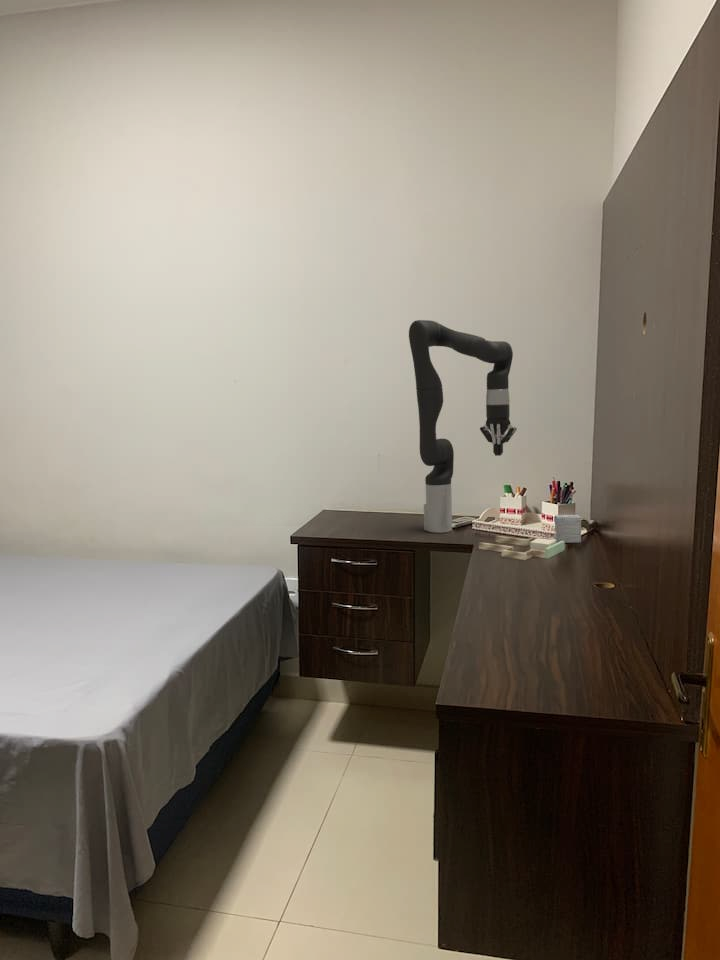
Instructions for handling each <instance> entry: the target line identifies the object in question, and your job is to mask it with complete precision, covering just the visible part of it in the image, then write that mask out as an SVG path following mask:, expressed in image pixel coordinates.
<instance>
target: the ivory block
mask: <svg viewBox="0 0 720 960" xmlns="http://www.w3.org/2000/svg"><path fill="white" fill-rule="evenodd" d="M556 543H557V542H556V540H549V539H540V538H537V539H535V540H533V541H531V542H530V547H529V550H531V549H534V550H541V551H545V548H547V547H549V546H552V545H554V544H556Z"/></svg>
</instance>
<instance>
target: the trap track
mask: <svg viewBox="0 0 720 960" xmlns="http://www.w3.org/2000/svg"><path fill="white" fill-rule="evenodd" d="M537 538H540V539H549V540H556V539H555V538H548V537H542V536H536V535H535V536H530V537H529V538H517V537H511V536H504V535H503V536H502V535H495V543H496V544H495V543H488V542H478V549H479V550H484V551H491V552H496V553H497V552H499V553H501V557H502V558H506V559H507V558H508V559H515V560H520V561H526V560H528V559H531V558H533V557H535V558H540V559H546V560H548V559H550V558H552V557H555V556H556V555H558V554H560V553H562V552H564V551H565V547H566V546H565V544H566V543H565V541H560V542H558V543H557V542H556V544H554V545H552V546H549V547H547V548H545V551H541V550H534V549H531V550H530V549H529V550H527V551H525V552H521V551H515V548H514V547H515V546H510V545H516V546H523V547H529V548H530V542H531V541H533V540H535V539H537ZM497 543H501V544H497ZM503 544H504V545H503ZM505 544H507V545H505ZM508 544H509V545H508Z"/></svg>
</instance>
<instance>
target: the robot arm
mask: <svg viewBox="0 0 720 960" xmlns="http://www.w3.org/2000/svg"><path fill="white" fill-rule="evenodd" d="M408 341H409V346H410V350H411V351H410V352H411V355H412V361H413V368H414V369H413V370H414V378H415V386H416V387H415V389H416V397H417V398H416V400H417V409H418V420H419V421H418V422H419V455H420V458H421V461H422V463H423V464H424V465H425V466H427V467H428V466H429V467H433V468H432V470H431V471H430V472H429V473H428V474H427V475H426V476H425V478H424V481H425V483H424V484H425V504H423V524H424V525H423V527H424V528H423V530H424V531H427V532H429V533H440V534H441V533H449V532H452V530H453V516H452V515H453V509H452V507H453V506H452V504H453V503H452V478H453V474H454V460H455V459H454V457H455V456H454V453H455V452H454V446H453V444H452V443H451V441H450V440H449V439H447V438H437V422H438V419H439V417H440V413H441V410H442V408H443V404H444V391H443V384H442V380H441V378H440V376H439V374H438V371H437V370H436V369H435V367H434V365H433V362H432V360H431V355H430V347H445V348H449V349H452V350H453V351H455V352H457V353H459V354H461V355H464V356H468V357H471V358H475V359H478V360H479V361H482V362H484V363H488V364H493V368H492V370H491V371H489V372H488V373H487V374H486V394H485V396H486V398H485V408H486V411H485V413H486V414H485V416H486V421H485V424H484V426H481V427H480V428H479V430H480V432H481V434H482V435H483V436H484V438H485V439H486V441H487V442H488V443H491V444H492V446H493V448H492V449H493V454H494V456H497V457H499V456H502V455H503V454H504V453H503V452H504V444H505V443H509V441H510V440H511V439H512V437H513V435H514V434H515V433H516V431H517V427H515V426H513V425H511V420H510V403H511V401H510V391H509V390H510V389H509V375H510V371H511V367H512V362H513V354H514V353H513V352H514V351H513V348H512V345H511V344H510V343H509V342H507V341H503V340H501V341H492V340H487V339H485V338H484V337H482V336H480V335H479V336H478V335H474V334H470V333H467V332H463V331H462V332H460V331H457V330H454V329H451V328H449V327H447V326H445V325H443V324H441V323H439V322H437V321H434V320H428V319H427V320H425V319H419V320H414V321H412V323H411V324H410V326H409V329H408Z"/></svg>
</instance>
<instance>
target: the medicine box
mask: <svg viewBox="0 0 720 960" xmlns="http://www.w3.org/2000/svg"><path fill="white" fill-rule="evenodd" d="M555 532H556V543H558V542H560V541H565V544H571V543H572V544H573V543H574V544H576V543H578V544H579V543H582V517H581V516H580V515H579V514H559V515H558V514H555V515H554V533H555Z"/></svg>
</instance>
